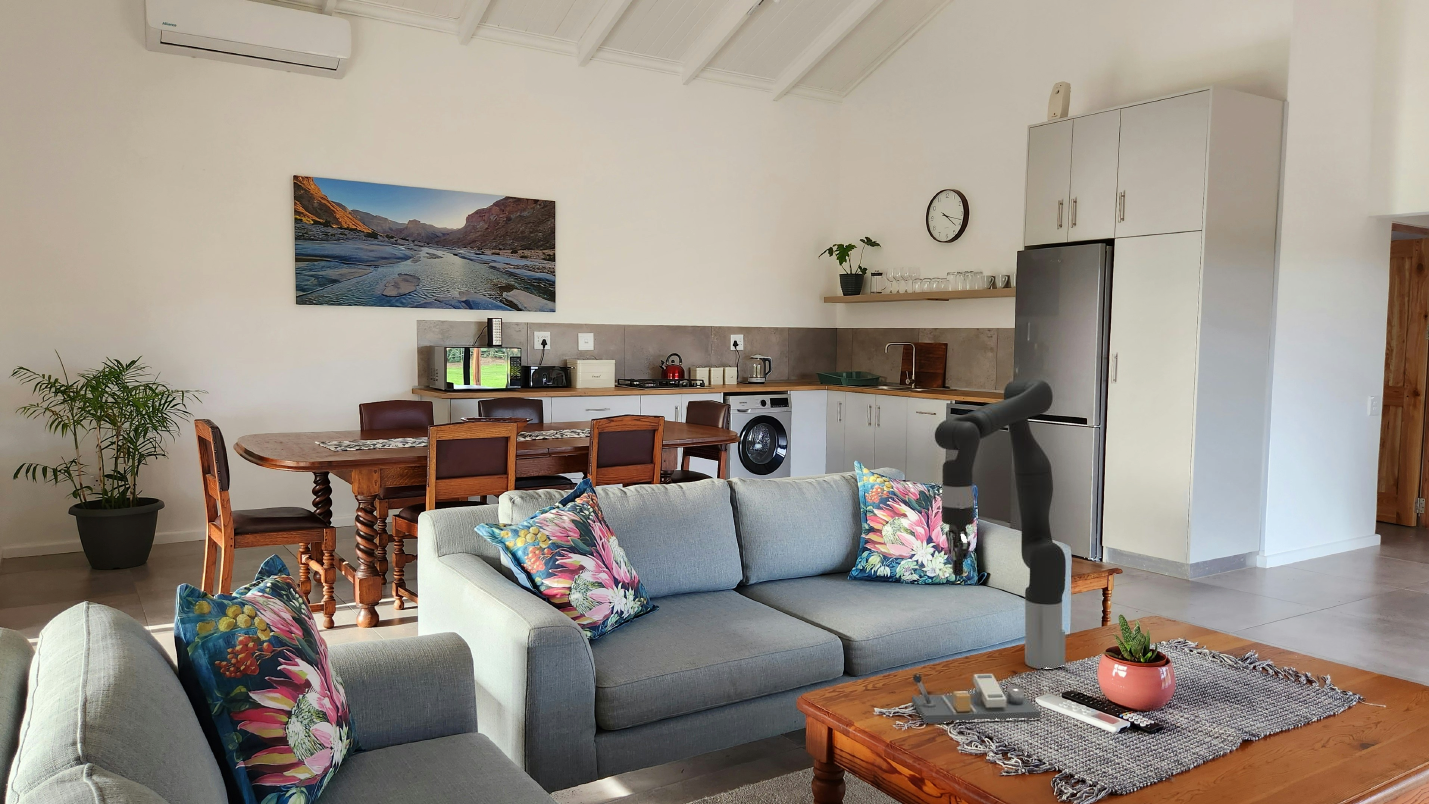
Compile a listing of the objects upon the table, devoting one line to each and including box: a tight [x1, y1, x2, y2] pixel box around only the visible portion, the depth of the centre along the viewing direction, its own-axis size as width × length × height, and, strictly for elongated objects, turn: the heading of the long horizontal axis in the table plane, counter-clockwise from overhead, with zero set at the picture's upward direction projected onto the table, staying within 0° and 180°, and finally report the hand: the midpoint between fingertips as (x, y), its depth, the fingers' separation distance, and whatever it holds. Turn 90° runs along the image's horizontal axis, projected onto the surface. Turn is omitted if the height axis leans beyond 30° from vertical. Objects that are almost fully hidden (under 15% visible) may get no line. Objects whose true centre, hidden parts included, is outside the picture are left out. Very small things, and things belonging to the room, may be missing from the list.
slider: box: [953, 690, 971, 712], centre depth 213 cm, size 3×3×4 cm
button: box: [1006, 684, 1024, 704], centre depth 217 cm, size 4×4×3 cm
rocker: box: [972, 673, 1007, 707], centre depth 216 cm, size 4×10×2 cm, turn 2°
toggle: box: [912, 673, 931, 704], centre depth 216 cm, size 2×2×8 cm
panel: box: [911, 686, 1041, 725], centre depth 216 cm, size 26×12×5 cm, turn 92°
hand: (957, 574), depth 227 cm, fingers closed
